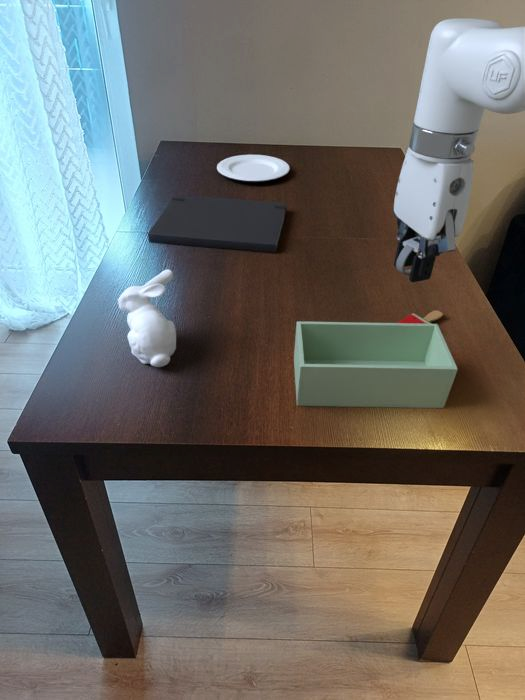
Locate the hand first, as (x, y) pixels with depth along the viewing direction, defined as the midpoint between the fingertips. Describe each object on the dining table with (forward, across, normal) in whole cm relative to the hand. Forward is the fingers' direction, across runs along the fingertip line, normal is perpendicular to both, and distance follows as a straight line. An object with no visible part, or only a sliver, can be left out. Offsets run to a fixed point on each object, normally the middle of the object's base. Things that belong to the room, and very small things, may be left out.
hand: (411, 271), depth 72 cm
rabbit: (+15, +13, +37) cm, 42 cm away
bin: (+15, -6, +8) cm, 18 cm away
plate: (+14, +82, -2) cm, 84 cm away
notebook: (+15, +52, +15) cm, 56 cm away
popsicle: (+15, +4, -6) cm, 17 cm away
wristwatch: (0, 0, 0) cm, 0 cm away
